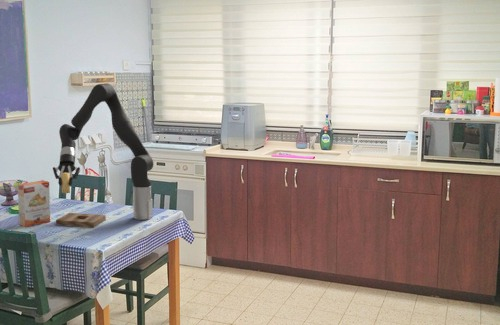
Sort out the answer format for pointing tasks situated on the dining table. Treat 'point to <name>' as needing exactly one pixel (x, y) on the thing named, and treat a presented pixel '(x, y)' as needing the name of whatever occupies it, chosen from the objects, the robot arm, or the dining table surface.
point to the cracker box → (34, 203)
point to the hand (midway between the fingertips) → (65, 184)
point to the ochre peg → (65, 182)
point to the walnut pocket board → (81, 220)
